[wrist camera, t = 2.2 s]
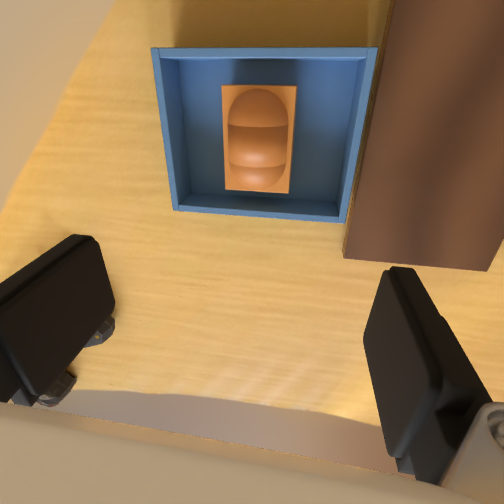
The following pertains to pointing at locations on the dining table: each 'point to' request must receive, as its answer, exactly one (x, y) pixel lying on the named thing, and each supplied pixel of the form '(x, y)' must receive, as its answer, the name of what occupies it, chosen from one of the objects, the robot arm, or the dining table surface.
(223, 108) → the bread
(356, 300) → the dining table surface
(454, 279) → the dining table surface
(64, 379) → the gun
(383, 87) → the board
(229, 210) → the bin
